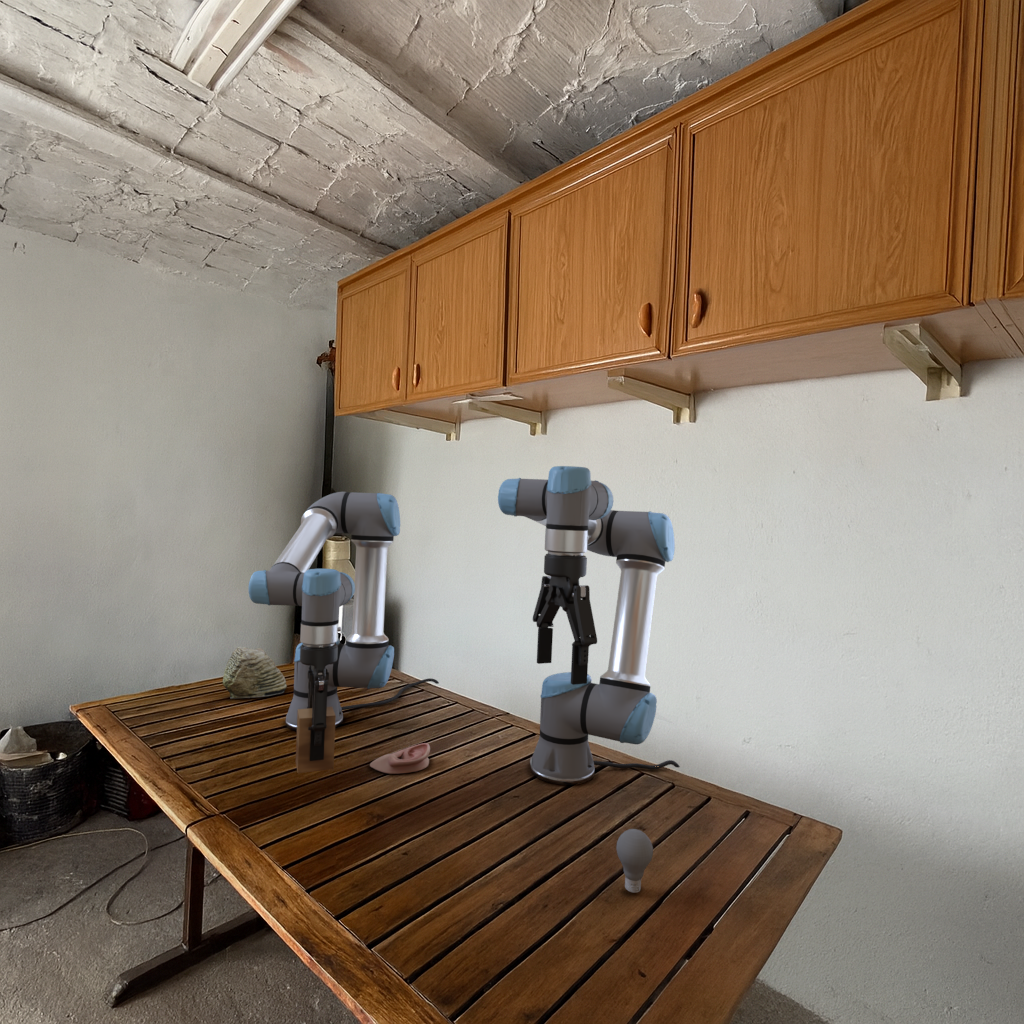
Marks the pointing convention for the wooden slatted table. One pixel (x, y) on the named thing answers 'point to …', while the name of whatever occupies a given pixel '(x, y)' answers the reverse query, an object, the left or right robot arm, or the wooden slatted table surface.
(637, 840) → the light bulb
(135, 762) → the wooden slatted table surface
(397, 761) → the anatomical model
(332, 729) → the block
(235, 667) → the fossil
